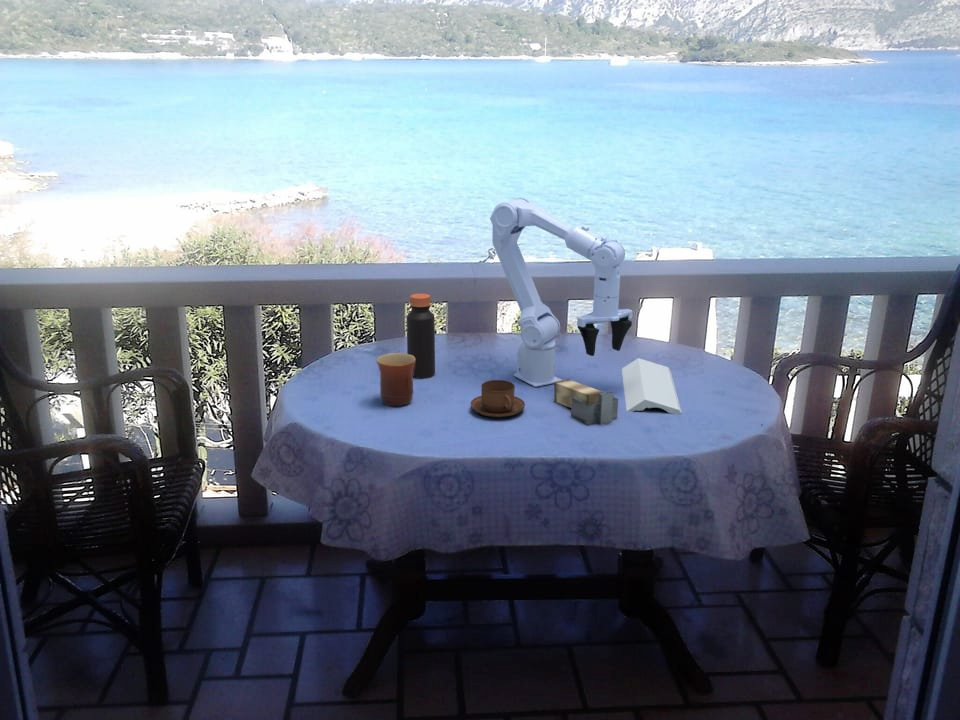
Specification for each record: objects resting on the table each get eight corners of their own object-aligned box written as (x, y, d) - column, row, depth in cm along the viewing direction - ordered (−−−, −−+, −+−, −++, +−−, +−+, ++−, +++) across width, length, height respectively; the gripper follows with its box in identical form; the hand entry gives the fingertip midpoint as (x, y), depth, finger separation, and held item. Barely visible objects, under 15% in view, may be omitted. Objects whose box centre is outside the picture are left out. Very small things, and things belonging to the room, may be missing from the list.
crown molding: (682, 416, 196) (683, 401, 195) (626, 413, 197) (627, 398, 196) (669, 372, 224) (670, 359, 222) (620, 371, 225) (621, 357, 224)
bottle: (436, 369, 222) (435, 292, 216) (434, 379, 216) (433, 299, 210) (409, 369, 223) (407, 292, 216) (406, 378, 216) (404, 299, 210)
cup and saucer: (535, 411, 197) (536, 385, 195) (498, 426, 189) (499, 399, 187) (496, 397, 205) (497, 372, 203) (459, 411, 197) (459, 385, 195)
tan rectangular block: (554, 401, 203) (553, 381, 201) (568, 398, 205) (568, 378, 203) (589, 415, 192) (588, 394, 191) (604, 411, 194) (604, 391, 193)
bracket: (571, 416, 194) (572, 386, 192) (600, 409, 198) (601, 380, 196) (591, 427, 188) (592, 397, 186) (620, 420, 192) (622, 390, 190)
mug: (403, 411, 196) (402, 367, 193) (370, 404, 200) (368, 361, 196) (430, 394, 206) (429, 352, 203) (397, 388, 210) (396, 347, 207)
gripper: (591, 303, 194) (588, 361, 198) (642, 295, 201) (638, 351, 206) (572, 296, 200) (570, 353, 204) (622, 288, 207) (619, 343, 211)
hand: (603, 352), depth 205 cm, fingers open, 7 cm apart
